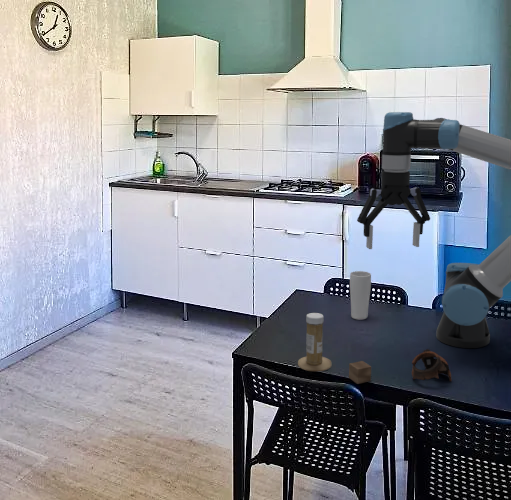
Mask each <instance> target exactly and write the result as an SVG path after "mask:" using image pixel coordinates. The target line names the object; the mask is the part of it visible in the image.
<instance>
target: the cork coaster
mask: <svg viewBox="0 0 511 500" xmlns="http://www.w3.org/2000/svg"><path fill="white" fill-rule="evenodd" d="M306 357H307V356H303V357H300V358H299V359H298V361H297V366H298V367H299V368H300V369H302V370H303V371H304V370H305V371H308V372H323V371H328V370H329V369H330V368H332V360H331V359H329V358H327V357H325V356H322V363H321V364H319V365H311V364H308V363H307V362H306Z"/></svg>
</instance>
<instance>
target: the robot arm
mask: <svg viewBox="0 0 511 500" xmlns="http://www.w3.org/2000/svg"><path fill="white" fill-rule="evenodd" d="M383 118H384V119H383V129H382V156H381V159H382V160H381V163H382V164H381V169H382V171H381V181H380V184H381V186H380V189H376V188H373V187H372V188H370V189H369V191H368V192H369V193H368V197H367V199H366V201H365V203H364V205H363V207H362V209H361V211H360V213H359V215H358V217H357V219H356V222H358V223H359V224H362V225H363V236H364V237H366V245H365V247H366V248H367V249H368V250H373V238H374V237H373V236H374V235H373V233H374V232H373V231H374V225H373V224H372V223H373V221H374V220H375V219H376V218H377V217H378V216H379V214H381V212H382V211H383V210H384V208H386V207H387V206H388V205H389V206H395V205H397V206H401V205H403V206H404V207H405V208H406V209H407V211H408V212H409V213H410V215H411V216H412V217H413V218H414V220H415V221H413V226H412V227H413V228H412V229H413V230H412V231H413V232H412V246H414V247H415V248H419V247H420V237H421V235H423V234H424V233H423V232H424V224H426V222H427V221H428V222H430V220H431V217H430V214H429V212H428V209H427V207H426V204H425V202H424V199H423V198H422V193H421V188H419V187H416V186H414V187H413V188H410V184H411V183H410V181H411V172H410V171H409V170H410V169H411V164H412V163H411V162H412V158H411V157H412V149H414V150H415V149H416V150H417V149H425V150H426V149H427V150H428V149H430V150H448V151H452V152H456V153H458V154H462V155H464V156H467V157H471V158H474V159H476V160H480V161H483V162H486V163H489V164H492V165H495V166H497V167H501V168H503V169H507V170H511V139H509V138H506V137H503V136H500V135H498V134H494V133H490V132H488V131H485V130H480V129H478V128H473V127H470V126H467V125H464V124H461V123H460V122H459V120H457V119H449V118H448V119H447V118H445V117H444V118H443V117H436V118H434V119H416V118H415V119H414V116H413V112H407V111H393V112H391V111H389V112H387V113H386V114H385V115H384V117H383ZM410 195H411V196H413V199H414V203H415V204H416V206H417V209H418V211H419V212H418V211H417V210H416V208H415V207H414V206H413V205H412V203H411V201H410V199H408V198H409V196H410ZM379 196H380V197H381V198H380V199H379V200H378V203H377V204H376V206H375V207H374V208H373V205H374V203H375V201H376V200H377V199H376V198H378V197H379ZM372 208H373V209H372ZM370 211H371V212H370ZM509 283H511V234H510V235H509V236H508V237H507V238H506V239H505V240H503V242H502V243H501V244H499V245H498V246H497V247H496V248H495V249H494V250H493V251H492V252H490V254H489V255H488V256H487V257H486V258H485V259H484V260H482V261H481V262H480V263H479V264H478V263H473V262H472V263H471V262H451V263H449V264H447V266H446V271H445V285H444V289H443V294H442V296H441V305H442V309H443V314H442V316H441V319H440V321H439V323H438V324H437V325H438V326H437V328H436V332H435V334H436V336H435V337H436V339H437V340H438V341H439V342H440V343H442V344H445V345H447V346H452V347H456V348H463V349H477V348H483V347H486V346H488V345H489V344H490V341H491V339H490V338H491V334H490V330H489V326H488V322H487V318H486V317H487V315H488V313H489V310H490V308H492V307H493V306H494V305H495V304H496V303H498V302H499V300H501V299H502V298H503V297H504V291H503V289H504V288H505V287H506V286H507V285H508V284H509Z"/></svg>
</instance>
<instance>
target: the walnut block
mask: <svg viewBox="0 0 511 500" xmlns="http://www.w3.org/2000/svg"><path fill="white" fill-rule="evenodd" d="M348 364H349V366H348V367H349V368H348V378H349V379H350V380H351V381H352V382H354V383H355V384H357V385H359V384H364V383H368V382H371V380H372V366H371V365H370V364H368V363H366V362H365V361H363V360H360V361H359V360H358V361H355V362H351V363H348Z"/></svg>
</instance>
